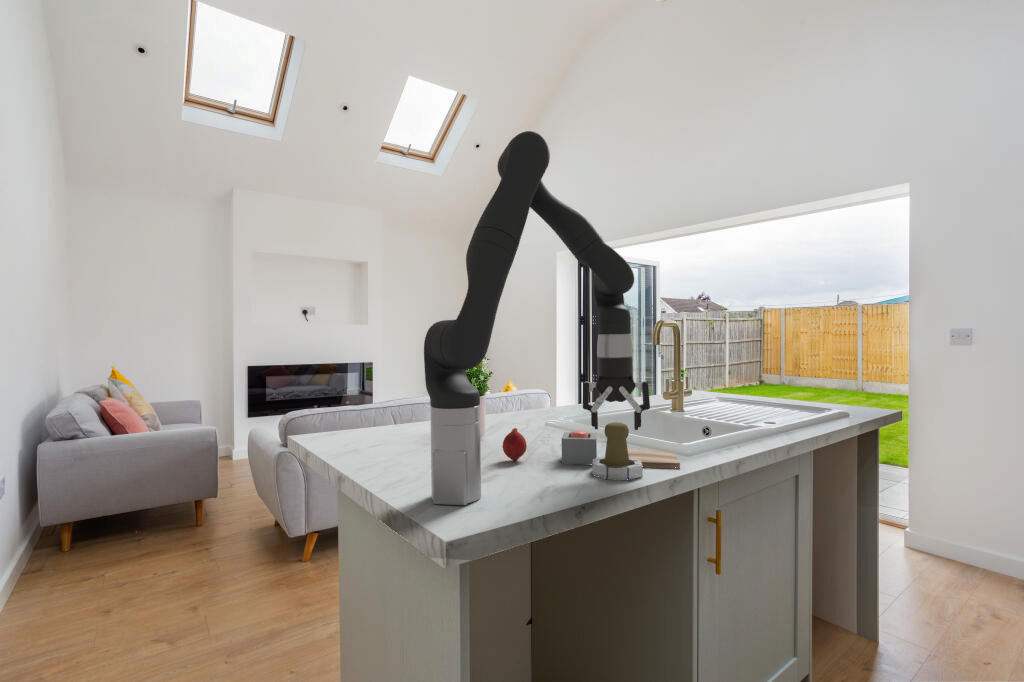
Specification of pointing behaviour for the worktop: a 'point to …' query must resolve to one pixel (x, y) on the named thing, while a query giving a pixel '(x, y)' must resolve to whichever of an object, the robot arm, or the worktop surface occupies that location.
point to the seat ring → (617, 469)
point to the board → (655, 458)
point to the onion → (514, 445)
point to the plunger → (579, 434)
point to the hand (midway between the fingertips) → (616, 429)
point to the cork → (616, 445)
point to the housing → (579, 449)
